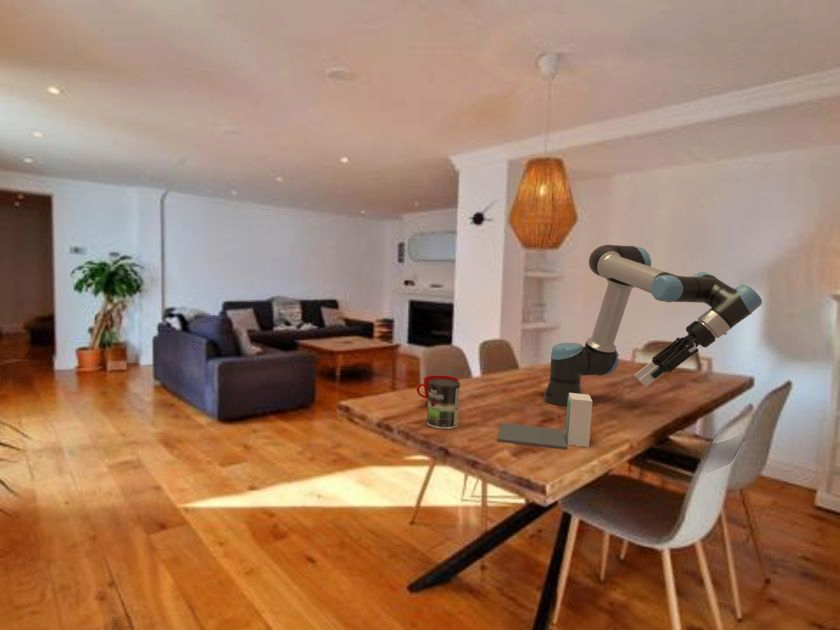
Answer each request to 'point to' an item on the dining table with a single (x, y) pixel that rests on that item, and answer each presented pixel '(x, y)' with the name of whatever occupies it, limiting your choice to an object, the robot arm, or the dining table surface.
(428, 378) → the ceramic cup
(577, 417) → the cream block
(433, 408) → the coffee can
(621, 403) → the dining table surface
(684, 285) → the robot arm
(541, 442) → the charcoal mat
